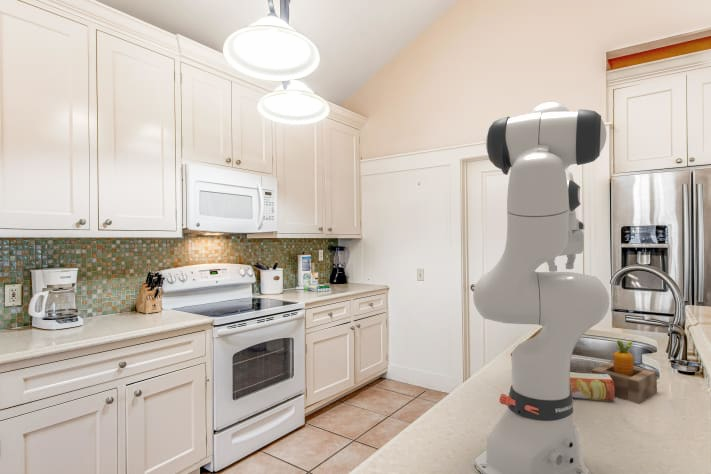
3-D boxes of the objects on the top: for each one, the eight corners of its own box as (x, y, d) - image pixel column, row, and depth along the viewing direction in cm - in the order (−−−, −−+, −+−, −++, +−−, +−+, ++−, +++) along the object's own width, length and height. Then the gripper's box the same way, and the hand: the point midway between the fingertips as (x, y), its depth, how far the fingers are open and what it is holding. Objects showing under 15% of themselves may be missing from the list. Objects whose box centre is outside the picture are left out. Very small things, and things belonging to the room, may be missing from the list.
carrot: (634, 389, 118) (633, 338, 117) (634, 396, 113) (633, 343, 113) (613, 386, 120) (613, 336, 120) (613, 392, 116) (612, 340, 116)
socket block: (638, 403, 108) (638, 381, 108) (592, 390, 118) (591, 369, 118) (656, 392, 115) (656, 371, 115) (611, 380, 125) (610, 361, 125)
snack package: (530, 396, 116) (530, 373, 116) (529, 388, 122) (528, 365, 122) (616, 404, 109) (615, 380, 108) (610, 395, 115) (609, 371, 115)
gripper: (551, 225, 114) (552, 273, 114) (587, 224, 126) (588, 268, 126) (530, 226, 119) (532, 272, 120) (567, 224, 131) (568, 267, 131)
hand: (561, 270), depth 123 cm, fingers open, 8 cm apart
